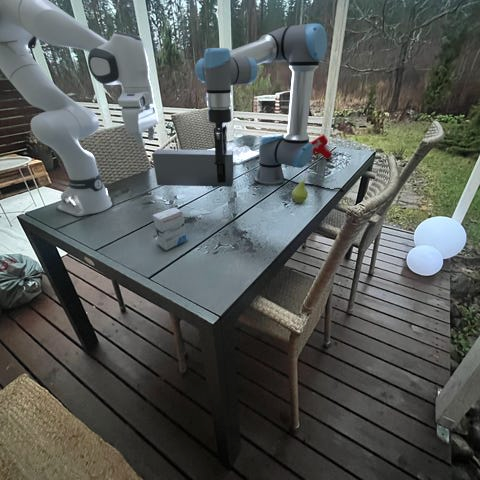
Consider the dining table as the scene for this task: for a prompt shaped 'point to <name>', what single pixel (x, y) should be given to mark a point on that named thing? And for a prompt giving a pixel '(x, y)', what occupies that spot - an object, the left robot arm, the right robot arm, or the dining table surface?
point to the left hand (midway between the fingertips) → (147, 143)
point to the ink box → (170, 228)
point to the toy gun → (321, 146)
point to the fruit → (300, 192)
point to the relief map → (240, 153)
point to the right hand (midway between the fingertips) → (222, 178)
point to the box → (191, 167)
